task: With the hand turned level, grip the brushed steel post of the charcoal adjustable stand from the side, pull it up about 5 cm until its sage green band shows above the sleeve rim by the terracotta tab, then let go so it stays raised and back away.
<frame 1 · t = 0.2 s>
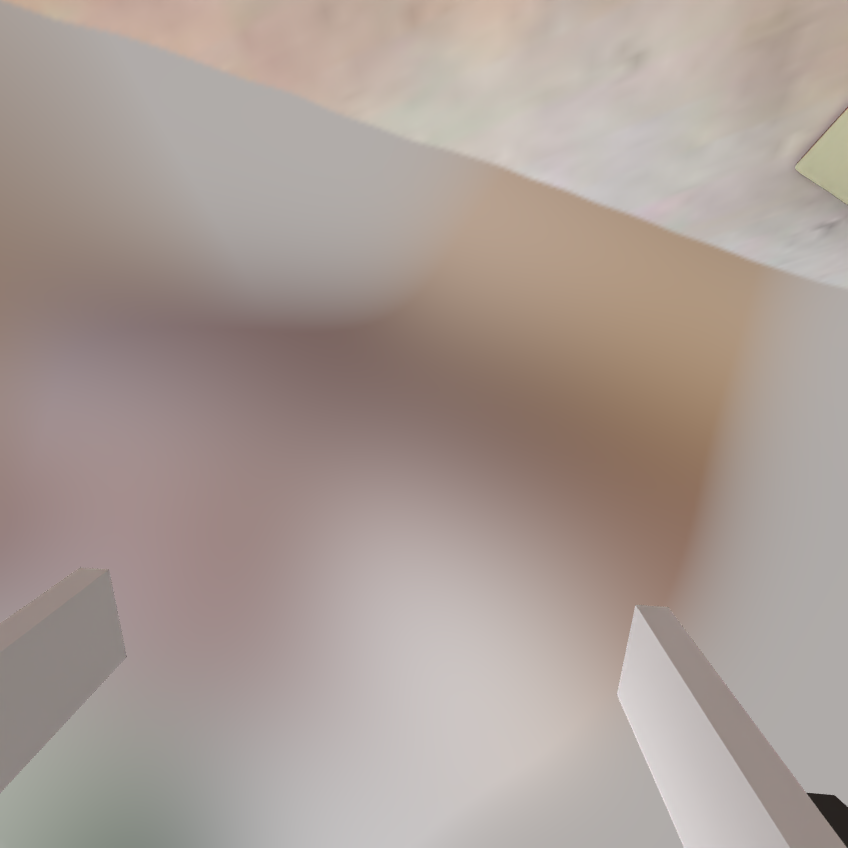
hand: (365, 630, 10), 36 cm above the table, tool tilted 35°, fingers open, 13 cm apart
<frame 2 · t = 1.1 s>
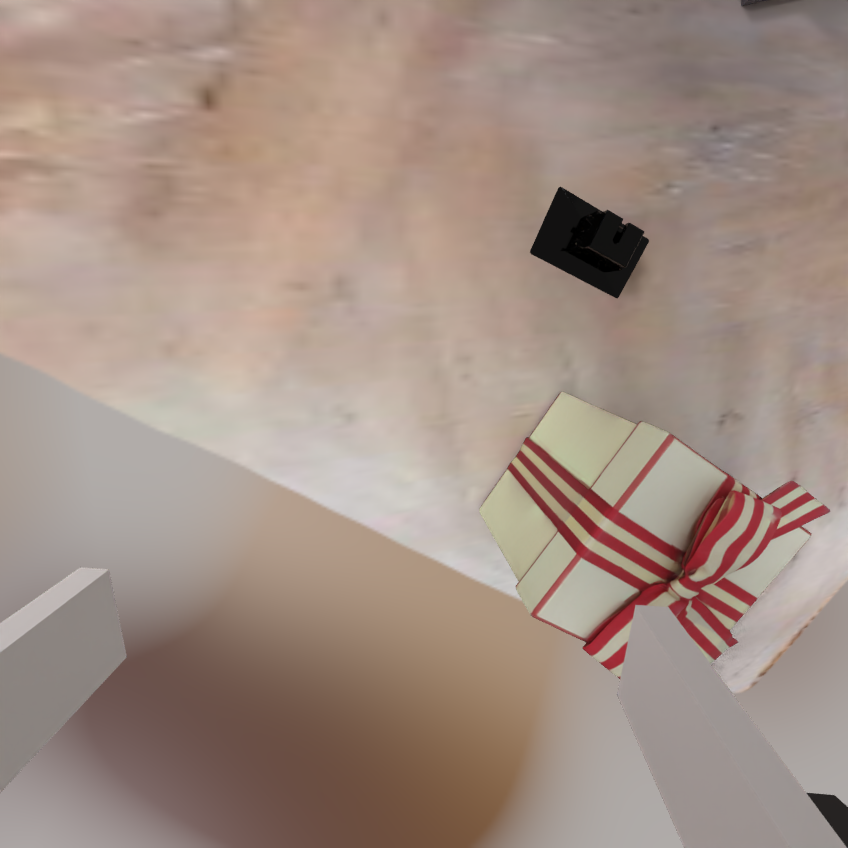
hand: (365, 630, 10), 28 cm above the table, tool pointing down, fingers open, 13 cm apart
black rectangular block: (586, 247, 36), on the table
gift box: (584, 483, 42), on the table
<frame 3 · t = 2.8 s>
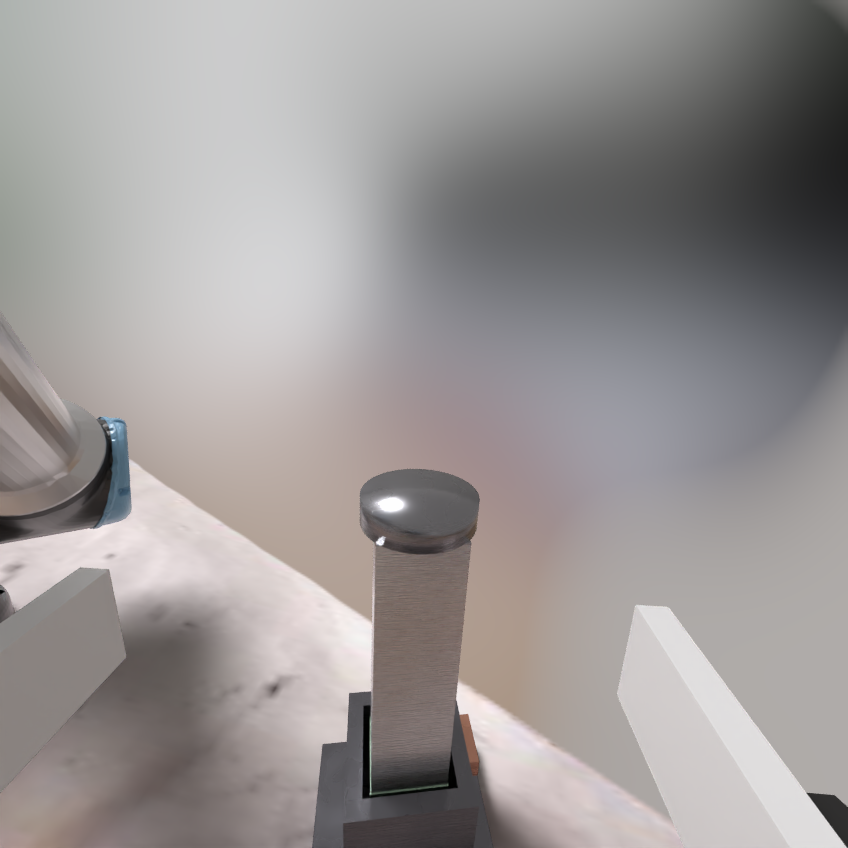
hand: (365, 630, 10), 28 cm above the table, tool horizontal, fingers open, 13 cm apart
stand base: (401, 840, 29), on the table
stand post: (409, 685, 24), point 14 cm above the table, slide at 0.0 cm
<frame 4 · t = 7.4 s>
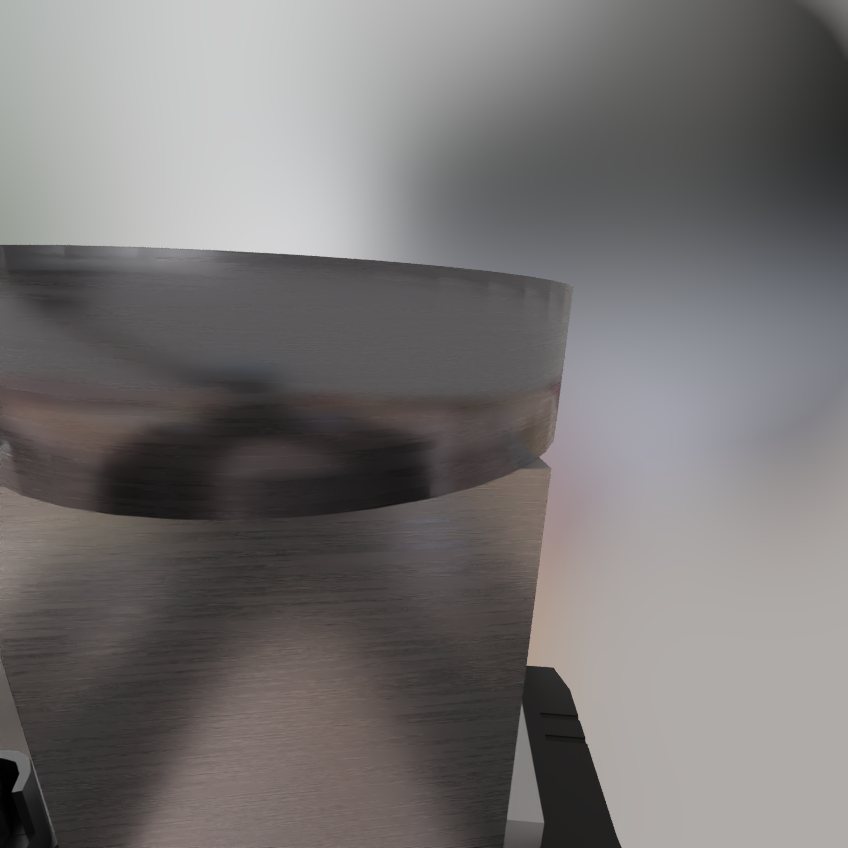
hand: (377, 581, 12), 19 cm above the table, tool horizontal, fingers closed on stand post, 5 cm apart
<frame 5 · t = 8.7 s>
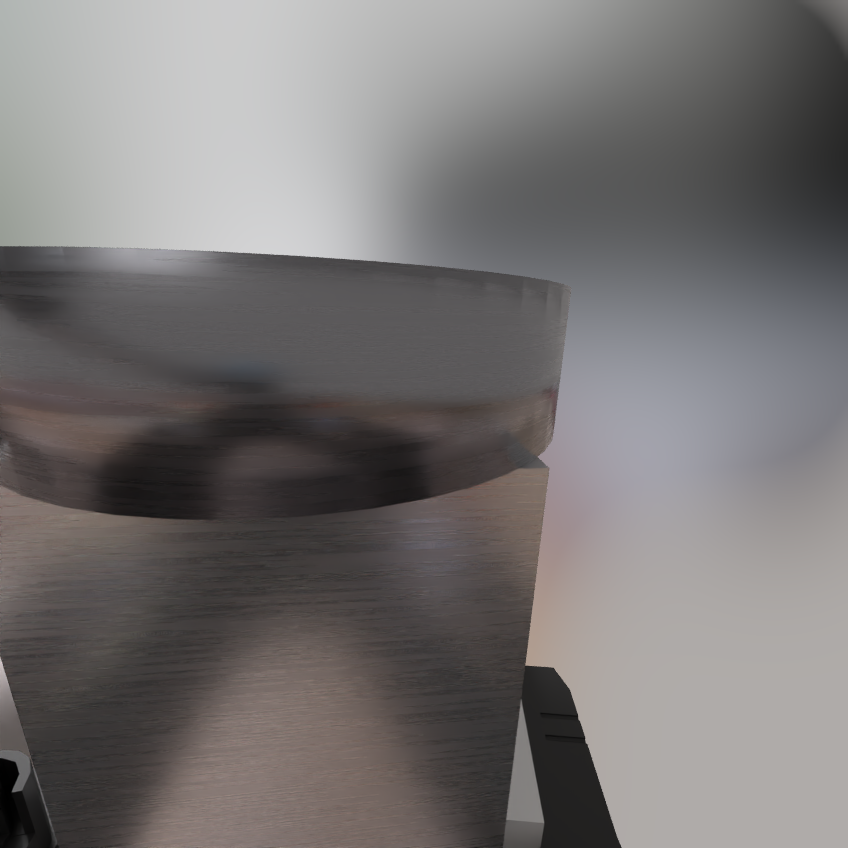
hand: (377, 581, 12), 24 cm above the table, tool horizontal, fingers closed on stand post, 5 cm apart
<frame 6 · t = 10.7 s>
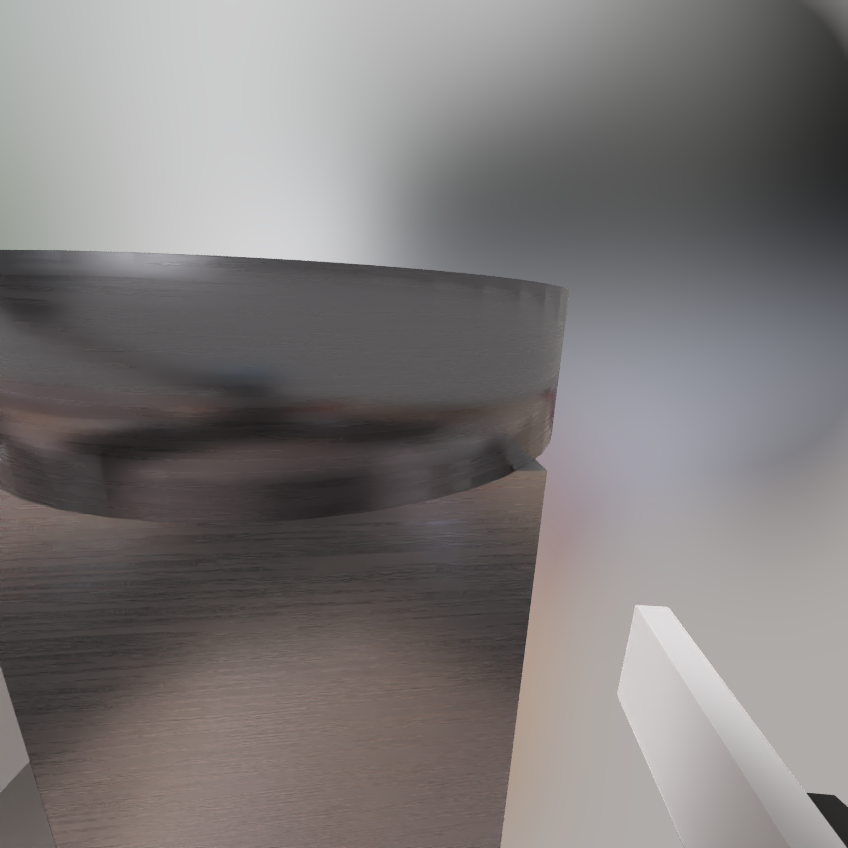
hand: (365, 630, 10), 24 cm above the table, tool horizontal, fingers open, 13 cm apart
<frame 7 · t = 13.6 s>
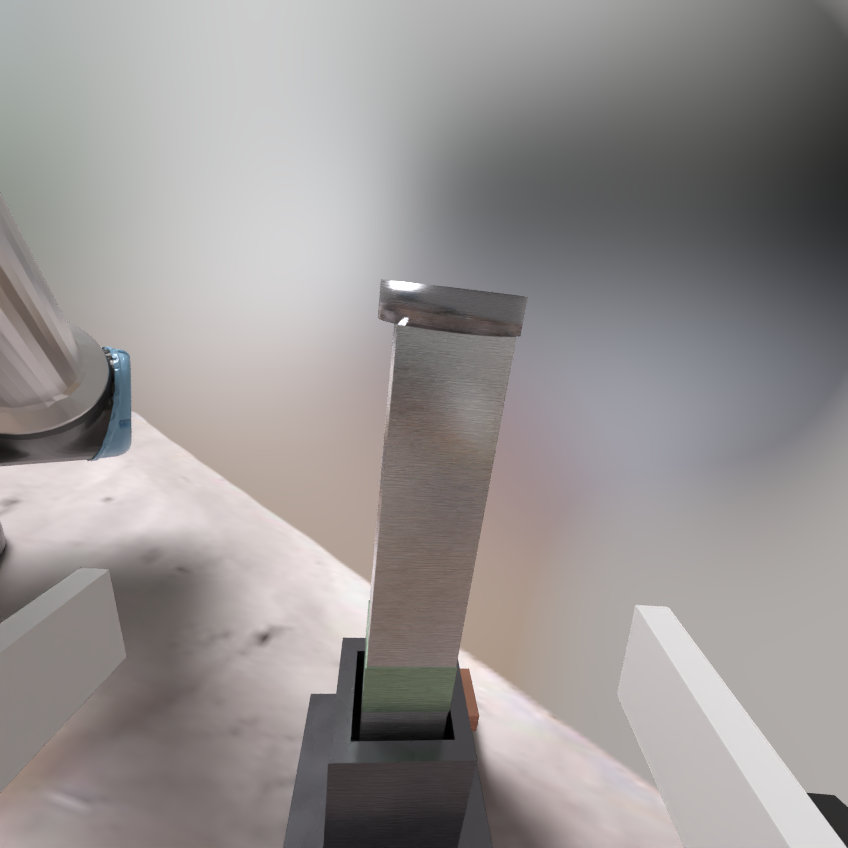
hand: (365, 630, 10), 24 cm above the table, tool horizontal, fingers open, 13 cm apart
stand base: (387, 796, 27), on the table
stand post: (419, 549, 21), point 19 cm above the table, slide at 5.0 cm
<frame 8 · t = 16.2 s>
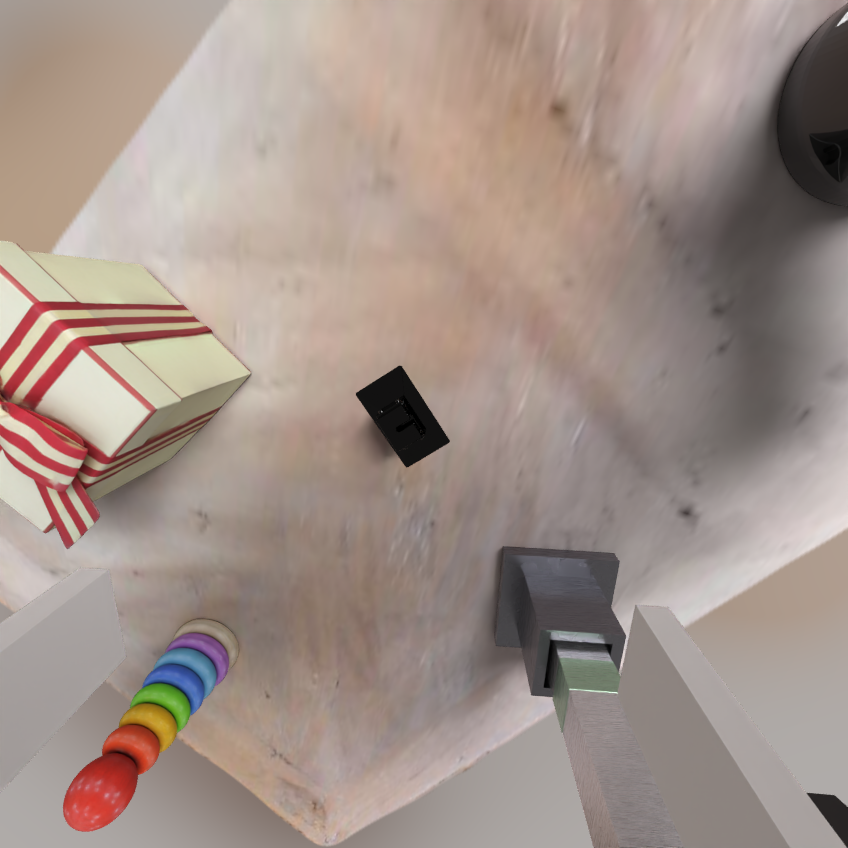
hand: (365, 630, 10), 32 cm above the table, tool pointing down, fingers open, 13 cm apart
black rectangular block: (404, 416, 42), on the table
stacking toy: (211, 640, 51), on the table
stand base: (551, 596, 46), on the table
stand post: (621, 787, 28), point 19 cm above the table, slide at 5.0 cm
gift box: (157, 382, 42), on the table
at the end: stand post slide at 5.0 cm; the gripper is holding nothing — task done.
